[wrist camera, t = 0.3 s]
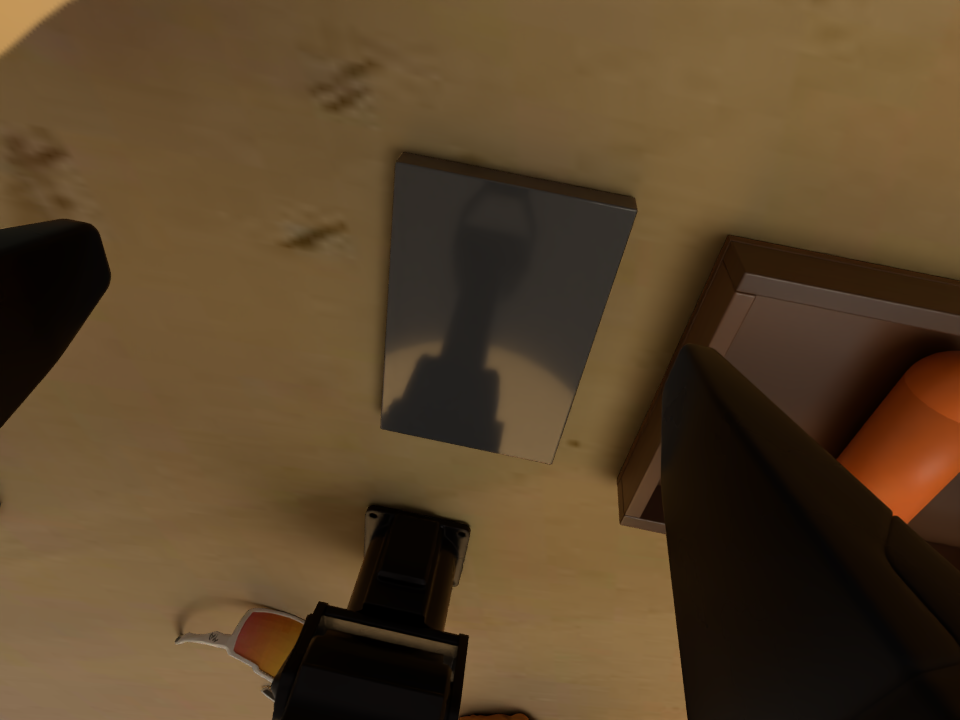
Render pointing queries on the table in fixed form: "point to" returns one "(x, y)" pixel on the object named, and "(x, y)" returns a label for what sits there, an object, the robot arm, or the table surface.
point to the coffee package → (496, 717)
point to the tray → (810, 357)
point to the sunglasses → (257, 641)
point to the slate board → (494, 302)
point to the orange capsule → (911, 437)
